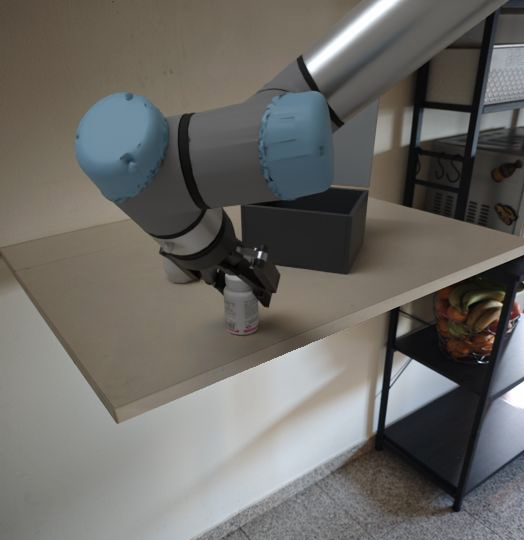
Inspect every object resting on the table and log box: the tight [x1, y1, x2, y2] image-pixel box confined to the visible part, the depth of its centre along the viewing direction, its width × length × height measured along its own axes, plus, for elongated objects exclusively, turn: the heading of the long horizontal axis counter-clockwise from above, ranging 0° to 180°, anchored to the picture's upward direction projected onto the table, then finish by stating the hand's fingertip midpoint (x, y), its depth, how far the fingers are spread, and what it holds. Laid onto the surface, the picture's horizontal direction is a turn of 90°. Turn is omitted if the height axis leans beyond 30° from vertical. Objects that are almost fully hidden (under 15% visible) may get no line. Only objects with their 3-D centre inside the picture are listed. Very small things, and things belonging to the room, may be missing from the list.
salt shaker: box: [162, 256, 192, 284], centre depth 82 cm, size 6×6×13 cm
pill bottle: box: [223, 274, 260, 336], centre depth 70 cm, size 5×5×8 cm
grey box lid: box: [331, 97, 381, 189], centre depth 91 cm, size 16×20×1 cm
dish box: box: [240, 186, 370, 275], centre depth 92 cm, size 16×20×10 cm
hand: (250, 295), depth 73 cm, fingers closed on pill bottle, 5 cm apart
